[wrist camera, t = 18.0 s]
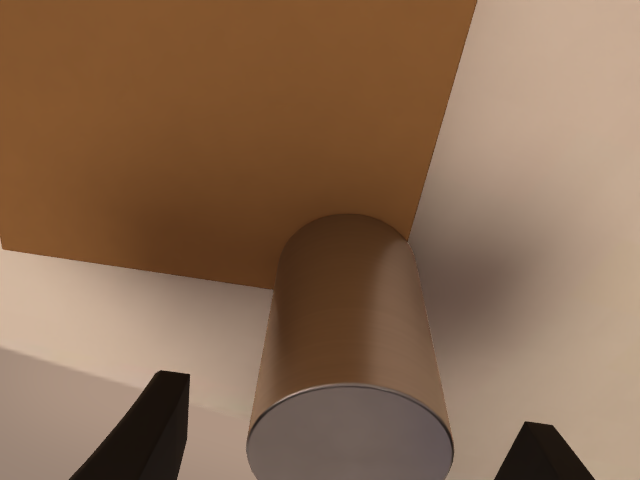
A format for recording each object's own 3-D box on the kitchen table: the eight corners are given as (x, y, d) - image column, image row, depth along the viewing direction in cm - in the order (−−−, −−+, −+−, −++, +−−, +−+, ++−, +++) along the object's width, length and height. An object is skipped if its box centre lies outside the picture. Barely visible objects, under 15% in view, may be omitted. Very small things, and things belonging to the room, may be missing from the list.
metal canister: (398, 335, 18) (423, 529, 12) (270, 316, 17) (237, 506, 12) (432, 225, 16) (483, 402, 10) (287, 202, 15) (255, 369, 10)
